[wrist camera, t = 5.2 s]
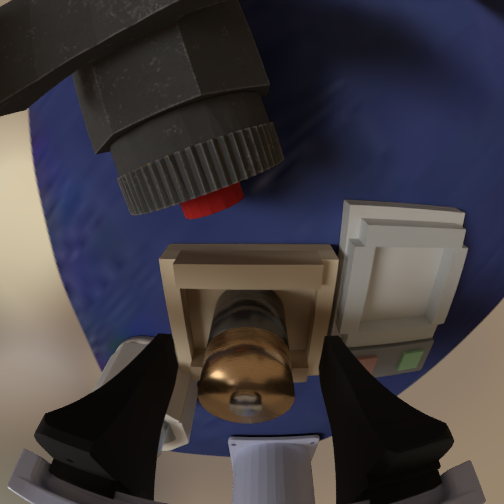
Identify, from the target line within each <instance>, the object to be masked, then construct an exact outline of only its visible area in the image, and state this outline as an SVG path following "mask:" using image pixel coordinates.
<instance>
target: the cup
mask: <svg viewBox="0 0 504 504" xmlns="http://www.w3.org/2000/svg"><path fill="white" fill-rule="evenodd" d="M154 338H155V337H150V336H134V337H130V338H127V339H126V340H124V341H123V342H122V343H121V344H120V345H119V347H118V348H117V350H116V352H115V353H114V354H113V355H112V356H111V357H110V359H109V361H108V363H107V364H106V366H105V368H104V370H103V372H102V374H101V376H100V378H99V380H98V382H97V383H96V385H95V387H94V390H93V391H95V390H97V389H98V388H100V387H101V386H103V385H104V384H105V383H107V382H108V381H109V380H111V379H112V378H113V377H114V376H116V375H117V374H118V373H119V372H120V371H121V370H123V369H124V368H125V367H126V366H127V365H128V364H129V363H130V362H131V361H132V360H133V359H134V358H135V357H136V356H137V355H138V354H139V353H140V352H141V351H142V350H143V349H144V348H145V347H146V346H147V345H148V344H149V343H150V342H151V341H152V340H153V339H154ZM174 349H175V345H174ZM175 353H176V349H175ZM176 357H177V353H176ZM177 362H178V372H177V378H176V383H175V387H174V390H173V393H172V397H171V400H170V403H169V406H168V409H167V412H166V415H165V419H164V421H166V422H168V427H167V431H166V435H165V439H164V443H163V447H162V450H164V451H166V450H167V451H169V450H172V449H175V448H177V447H180V446H183V445H185V444H188V442H189V438H190V433H191V428H192V422H193V417H194V412H195V407H196V402H197V397H198V387H197V382H198V381H195V380H193V378H192V374H186V373H181V370H180V366H179V361H178V357H177ZM93 391H92V392H93Z"/></svg>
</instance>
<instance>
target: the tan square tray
mask: <svg viewBox="0 0 504 504" xmlns="http://www.w3.org/2000/svg"><path fill="white" fill-rule="evenodd" d="M159 263H160V270H161V276H162V282H163V288H164V294H165V299H166V305H167V310H168V315H169V320H170V325H171V330H172V335H173V339H174V344H175V349H176V353H177V357H178V361H179V366H180V370H181V373H186V374H192V378H193V380H195V381H200V377H201V372H202V367H203V362H204V357H205V352H206V348H207V343H208V338H209V333H210V329H211V324H212V319H213V315H214V310H215V305H216V302H217V300H218V298H219V297H220V296H221V294H222V293H223V292H225V291H226V290H227V289H231V290H272V291H274V292H275V293H276V294H277V295H278V296H279V298H280V299H281V301H282V303H283V306H284V313H285V320H286V328H287V335H288V343H289V351H290V359H291V368H292V376H293V382H306V380H307V376H308V375H319V368H318V367H319V363H320V358H321V353H322V348H323V343H324V337H325V336H327V332H328V327H329V321H330V315H331V310H332V304H333V297H334V291H335V284H336V278H337V270H338V263H339V259H338V257H337V255H336V254H335V252H334V250H333V249H332V247H331V245H330V244H169V245H168V247H167V248H166V250H165V251H164V252H163V254H162V255H161V257H160V258H159Z"/></svg>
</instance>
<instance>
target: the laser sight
mask: <svg viewBox="0 0 504 504" xmlns="http://www.w3.org/2000/svg"><path fill="white" fill-rule="evenodd" d="M71 74H72V76H73V80H74V84H75V88H76V92H77V96H78V100H79V103H80V107H81V110H82V114H83V117H84V121H85V124H86V127H87V131H88V134H89V137H90V140H91V143H92V146H93V149H94V152H95V154H100V153H104V152H109V151H111V154H112V157H113V160H114V163H115V166H116V168H117V171H118V174H119V177H118V178H117V180H118V183H119V186H120V188H121V191H122V193H123V196H124V199H125V201H126V204H127V206H128V209H129V211H130V213H131V215H133V216H134V215H139V214H140V215H141V214H146V213H149V212H153V211H158V210H161V209H163V208H167V207H170V206H173V205H177V204H179V203H180V205H181V207H182V210H183V212H184V215H185V217H186V218H187V219H195V218H200V217H204V216H207V215H211V214H214V213H216V212H219V211H222V210H224V209H227V208H229V207H230V206H232V205H234V204H236V203H238V202H240V201H241V200H242V199H243V198H244V194H243V191H242V188H241V185H240V181H242V180H245V179H248V178H250V177H252V176H255V175H257V174H259V173H262V172H264V171H265V170H268V169H270V168H272V167H274V166H275V165H278V164H279V163H281V162H282V161H284V156H283V153H282V149H281V146H280V143H279V139H278V136H277V133H276V130H275V127H274V124H273V122H269V119H268V116H267V113H266V110H265V107H264V104H263V101H262V97H264V96H267V95H268V91H269V88H270V83H269V80H268V77H267V74H266V71H265V68H264V66H263V63H262V60H261V57H260V55H259V52H258V49H257V47H256V44H255V41H254V39H253V36H252V33H251V31H250V28H249V26H248V23H247V21H246V18H245V16H244V13H243V11H242V8H241V6H240V4H239V1H238V0H11V1H10V2H8V3H6V4H4V5H3V6H1V7H0V116H4V115H7V114H11V113H15V112H19V111H24V110H26V109H27V108H29V107H30V106H31V105H32V104H33V103H34V102H36V101H37V100H38V99H39V98H40V97H42V96H43V95H44V94H45V93H47V92H48V91H49V90H50V89H52V88H53V87H54V86H56V85H57V84H58V83H60V82H61V81H62V80H64V79H65V78H66V77H68V76H69V75H71Z"/></svg>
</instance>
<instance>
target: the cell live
mask: <svg viewBox="0 0 504 504" xmlns="http://www.w3.org/2000/svg"><path fill="white" fill-rule="evenodd" d="M198 399H199V401H200V403H201V405H202V406H203V407H204V408H205V409H206V410H207V411H208V412H210V413H211V414H213V415H215V416H217V417H219V418H221V419H224V420H227V421H231V422H237V423H260V422H265V421H269V420H272V419H275V418H277V417H279V416H281V415H282V414H284V413H285V412H287V411H288V410H289V409H290V407H291V406H292V404H293V402H294V399H295V393H294V384H293V376H292V368H291V359H290V351H289V343H288V335H287V328H286V320H285V313H284V306H283V303H282V301H281V299H280V298H279V296H278V295H277V294H276V293H275V292H274V291H272V290H231V289H227V290H226V291H225V292H223V293H222V294H221V296H220V297H219V298H218V300H217V302H216V305H215V310H214V315H213V319H212V324H211V329H210V333H209V338H208V343H207V348H206V352H205V357H204V362H203V367H202V372H201V377H200V382H199V387H198Z"/></svg>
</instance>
